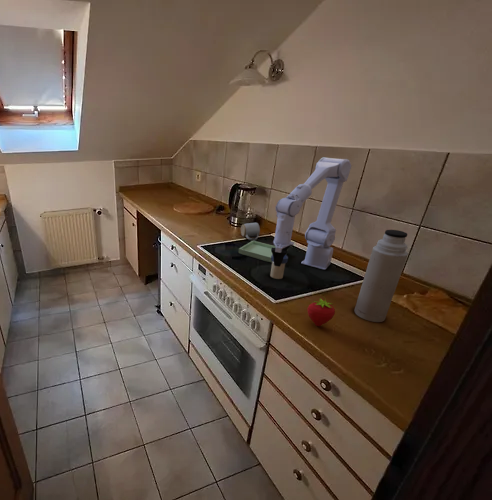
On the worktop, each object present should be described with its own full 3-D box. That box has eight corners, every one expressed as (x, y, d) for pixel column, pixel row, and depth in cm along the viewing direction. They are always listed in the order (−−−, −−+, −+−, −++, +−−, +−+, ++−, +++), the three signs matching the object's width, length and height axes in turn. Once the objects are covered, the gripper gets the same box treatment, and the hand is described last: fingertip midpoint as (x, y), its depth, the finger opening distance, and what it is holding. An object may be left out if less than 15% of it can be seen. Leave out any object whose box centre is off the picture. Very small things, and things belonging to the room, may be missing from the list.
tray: (287, 253, 139) (288, 249, 138) (274, 263, 130) (275, 258, 129) (252, 244, 151) (252, 240, 150) (238, 253, 142) (238, 248, 141)
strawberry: (300, 320, 93) (305, 292, 89) (323, 319, 93) (330, 291, 89) (310, 332, 88) (317, 303, 84) (335, 331, 88) (343, 302, 84)
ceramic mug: (239, 234, 164) (240, 221, 161) (253, 233, 165) (255, 220, 162) (246, 241, 155) (248, 227, 152) (261, 241, 155) (263, 227, 152)
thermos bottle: (348, 307, 98) (371, 227, 87) (372, 306, 98) (398, 226, 87) (366, 322, 91) (393, 237, 80) (391, 321, 91) (422, 236, 80)
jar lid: (272, 256, 121) (273, 252, 120) (288, 259, 118) (289, 254, 117) (269, 261, 116) (270, 257, 115) (285, 265, 113) (286, 260, 112)
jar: (284, 275, 120) (287, 257, 117) (280, 280, 117) (284, 261, 113) (272, 272, 123) (275, 254, 120) (268, 276, 119) (271, 258, 116)
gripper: (292, 238, 104) (286, 272, 110) (298, 226, 116) (292, 258, 121) (271, 234, 108) (266, 268, 113) (278, 223, 119) (274, 254, 124)
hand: (278, 262), depth 117 cm, fingers closed on jar lid, 6 cm apart
